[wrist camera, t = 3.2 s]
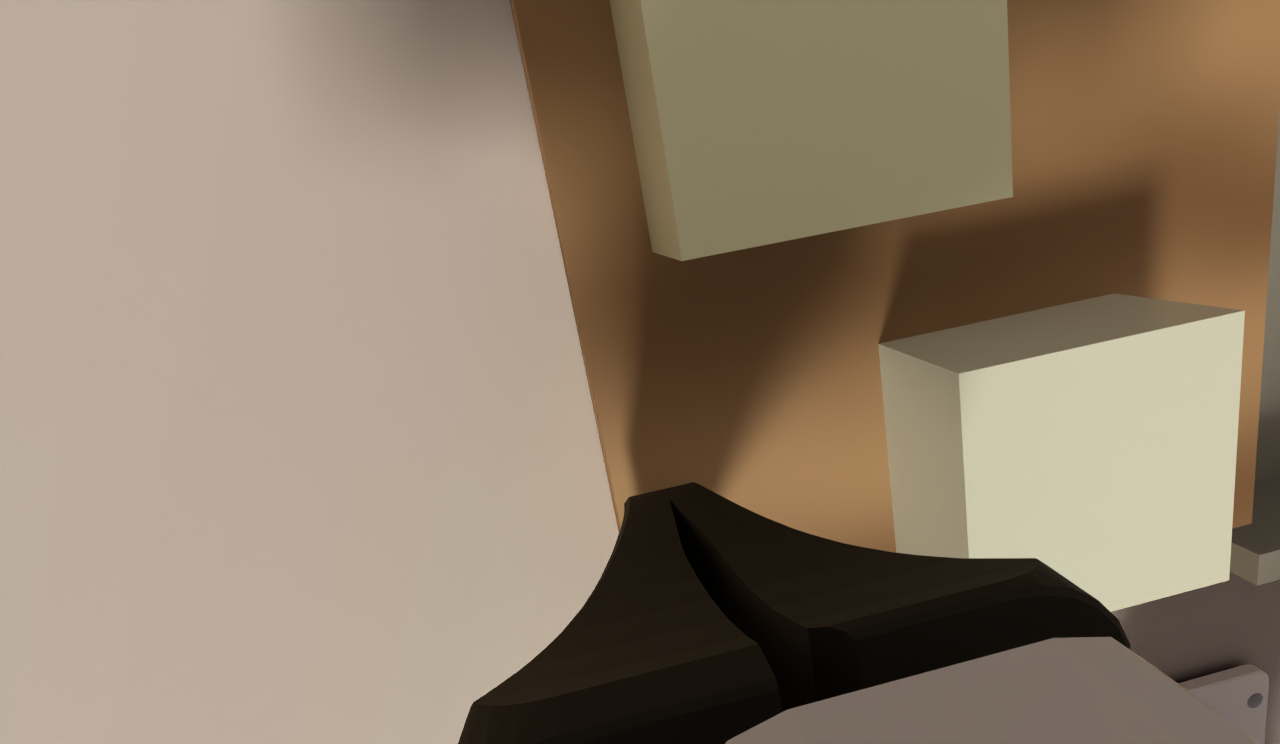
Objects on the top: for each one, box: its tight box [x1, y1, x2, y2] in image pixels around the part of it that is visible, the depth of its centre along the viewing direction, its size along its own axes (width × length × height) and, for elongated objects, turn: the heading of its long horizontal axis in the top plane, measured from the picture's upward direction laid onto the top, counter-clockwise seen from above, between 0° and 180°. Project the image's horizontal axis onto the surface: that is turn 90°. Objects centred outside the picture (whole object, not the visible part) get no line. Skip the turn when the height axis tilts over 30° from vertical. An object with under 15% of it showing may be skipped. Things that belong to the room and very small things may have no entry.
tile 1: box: [878, 293, 1245, 612], centre depth 12 cm, size 5×5×2 cm
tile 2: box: [610, 0, 1013, 261], centre depth 10 cm, size 5×5×2 cm
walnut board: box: [510, 0, 1280, 553], centre depth 14 cm, size 14×14×3 cm
